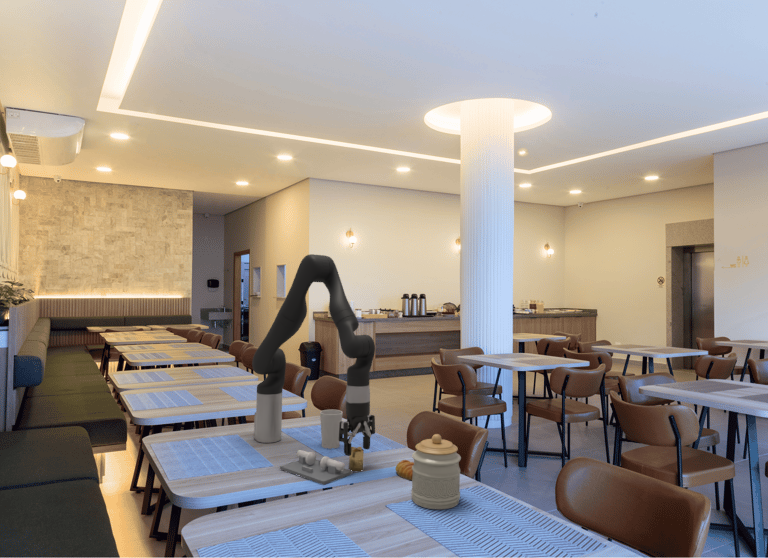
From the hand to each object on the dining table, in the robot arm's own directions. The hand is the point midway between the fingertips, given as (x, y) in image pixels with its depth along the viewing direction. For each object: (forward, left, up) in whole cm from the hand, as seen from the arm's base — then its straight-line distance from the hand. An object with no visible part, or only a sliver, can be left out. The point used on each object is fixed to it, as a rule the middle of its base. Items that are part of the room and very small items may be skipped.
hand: (357, 452), depth 166 cm
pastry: (+15, +7, -6) cm, 18 cm away
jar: (+32, -4, -6) cm, 32 cm away
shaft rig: (-8, -10, -5) cm, 14 cm away
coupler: (0, 0, -6) cm, 6 cm away
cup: (-23, +12, -6) cm, 27 cm away
